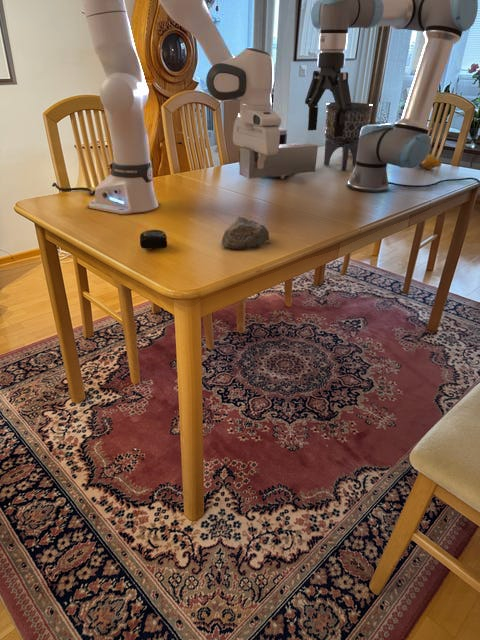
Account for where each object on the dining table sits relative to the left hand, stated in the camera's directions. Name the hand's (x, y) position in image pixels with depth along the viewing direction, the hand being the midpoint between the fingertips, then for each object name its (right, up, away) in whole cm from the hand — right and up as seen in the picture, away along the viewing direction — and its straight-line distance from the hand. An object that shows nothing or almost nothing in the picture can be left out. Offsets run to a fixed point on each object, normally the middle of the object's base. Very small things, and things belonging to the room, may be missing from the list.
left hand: (253, 165), depth 135 cm
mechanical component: (+14, +18, +62) cm, 66 cm away
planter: (+43, +25, +76) cm, 91 cm away
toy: (+83, +26, +78) cm, 117 cm away
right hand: (+22, +11, +2) cm, 24 cm away
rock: (-2, -26, -13) cm, 29 cm away
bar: (+8, 0, +5) cm, 10 cm away
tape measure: (-26, -27, -17) cm, 41 cm away
